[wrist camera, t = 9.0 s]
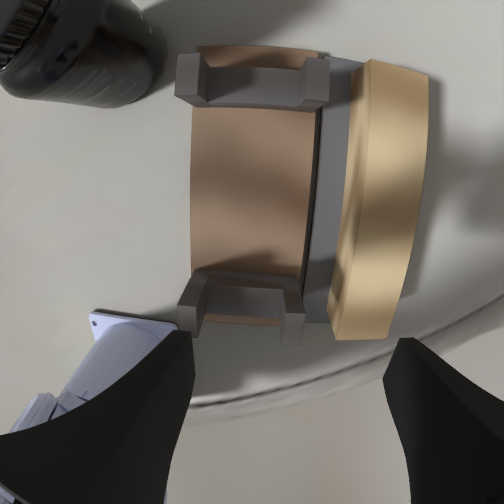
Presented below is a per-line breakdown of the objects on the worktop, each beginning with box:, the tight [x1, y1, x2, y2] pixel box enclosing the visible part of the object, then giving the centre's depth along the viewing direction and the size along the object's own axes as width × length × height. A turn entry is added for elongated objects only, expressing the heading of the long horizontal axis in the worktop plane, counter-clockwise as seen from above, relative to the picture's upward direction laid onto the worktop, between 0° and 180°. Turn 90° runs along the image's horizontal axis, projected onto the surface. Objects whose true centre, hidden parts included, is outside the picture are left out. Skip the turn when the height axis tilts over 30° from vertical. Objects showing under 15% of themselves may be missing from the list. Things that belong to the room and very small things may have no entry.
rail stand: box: [174, 46, 330, 344], centre depth 15 cm, size 18×7×6 cm, turn 177°
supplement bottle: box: [0, 0, 166, 108], centre depth 9 cm, size 7×7×12 cm
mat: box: [302, 56, 365, 323], centre depth 17 cm, size 18×7×1 cm, turn 177°
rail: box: [326, 59, 429, 340], centre depth 15 cm, size 16×4×4 cm, turn 177°
